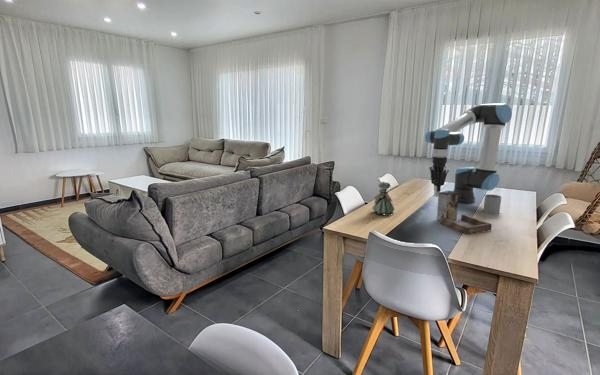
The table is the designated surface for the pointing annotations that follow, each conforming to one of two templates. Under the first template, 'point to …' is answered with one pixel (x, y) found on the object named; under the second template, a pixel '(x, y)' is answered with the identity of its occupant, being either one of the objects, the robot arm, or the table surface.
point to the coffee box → (447, 205)
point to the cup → (492, 204)
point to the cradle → (466, 224)
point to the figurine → (383, 200)
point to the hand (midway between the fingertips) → (436, 196)
